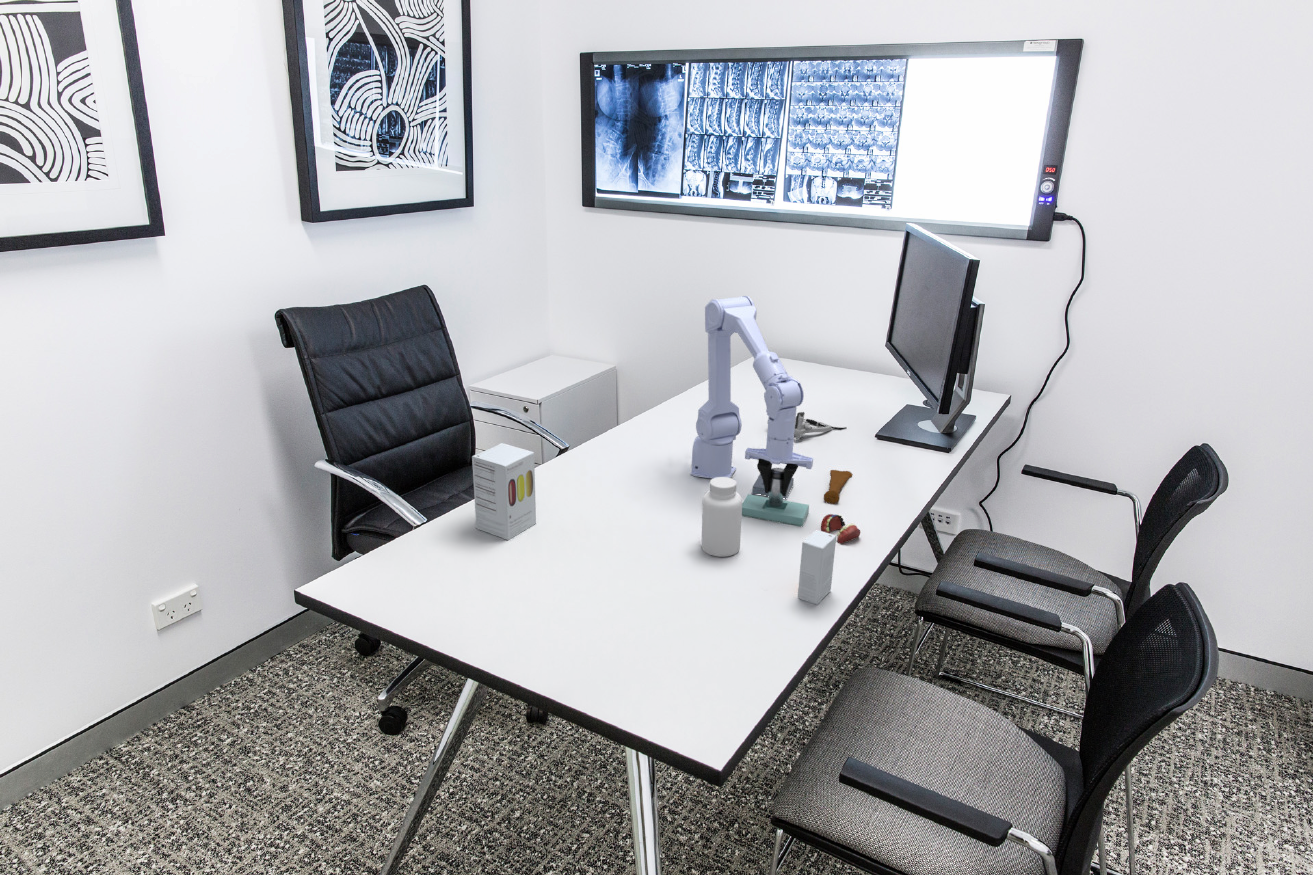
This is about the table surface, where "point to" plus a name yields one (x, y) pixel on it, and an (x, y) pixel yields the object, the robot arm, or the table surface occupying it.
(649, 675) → the table surface
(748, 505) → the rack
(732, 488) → the pill bottle
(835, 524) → the dentures
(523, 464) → the supplement box
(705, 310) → the robot arm
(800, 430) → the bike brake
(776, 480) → the glass vial
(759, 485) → the socket block
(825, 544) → the skincare box
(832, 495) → the primitive tool
